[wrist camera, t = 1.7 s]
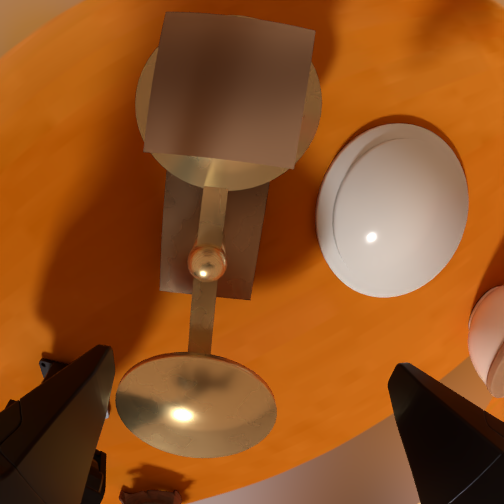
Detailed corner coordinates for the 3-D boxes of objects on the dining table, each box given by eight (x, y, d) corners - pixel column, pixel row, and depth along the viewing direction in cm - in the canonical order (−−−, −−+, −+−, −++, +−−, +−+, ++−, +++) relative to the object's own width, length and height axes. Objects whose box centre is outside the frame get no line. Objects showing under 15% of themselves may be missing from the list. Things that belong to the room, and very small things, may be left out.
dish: (436, 297, 24) (444, 304, 23) (298, 287, 23) (301, 296, 22) (477, 150, 20) (487, 153, 19) (334, 101, 18) (340, 100, 17)
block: (272, 156, 15) (293, 169, 10) (169, 144, 14) (143, 152, 10) (288, 59, 13) (315, 30, 9) (184, 46, 13) (166, 11, 8)
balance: (252, 378, 26) (261, 460, 18) (145, 367, 25) (125, 448, 17) (310, 52, 17) (363, 9, 9) (167, 34, 16) (130, -21, 8)
